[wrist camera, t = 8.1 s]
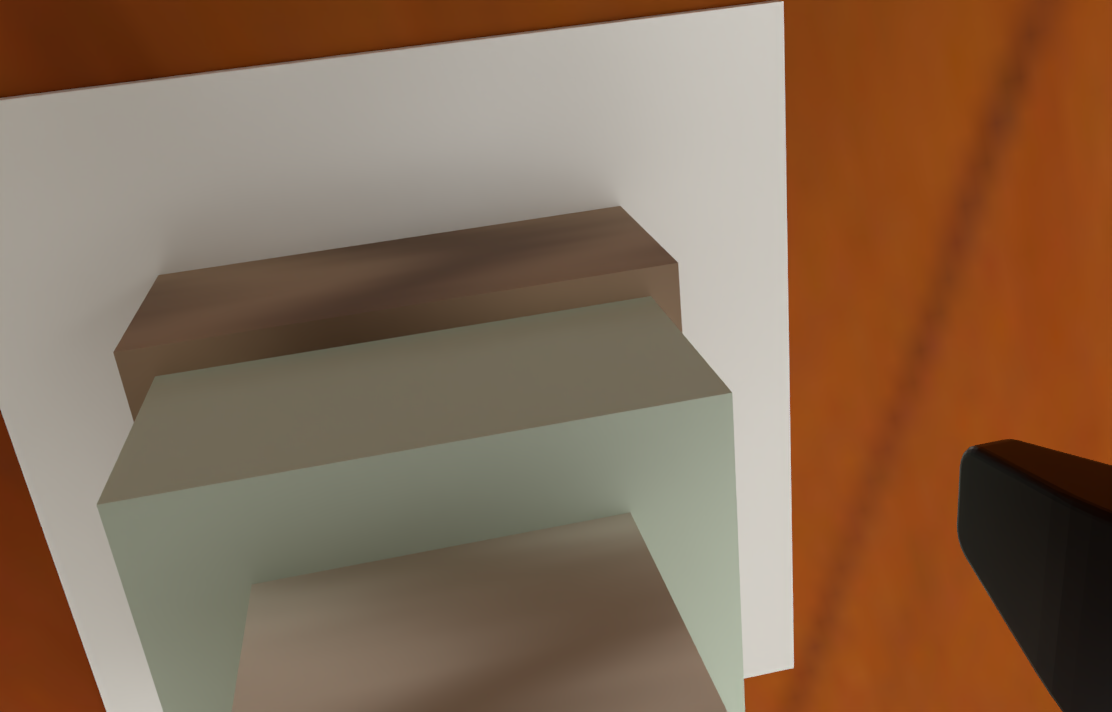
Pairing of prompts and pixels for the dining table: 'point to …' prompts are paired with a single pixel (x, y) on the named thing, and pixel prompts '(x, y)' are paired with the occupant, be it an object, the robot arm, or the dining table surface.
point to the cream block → (478, 631)
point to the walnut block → (391, 292)
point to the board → (394, 236)
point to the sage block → (422, 473)
